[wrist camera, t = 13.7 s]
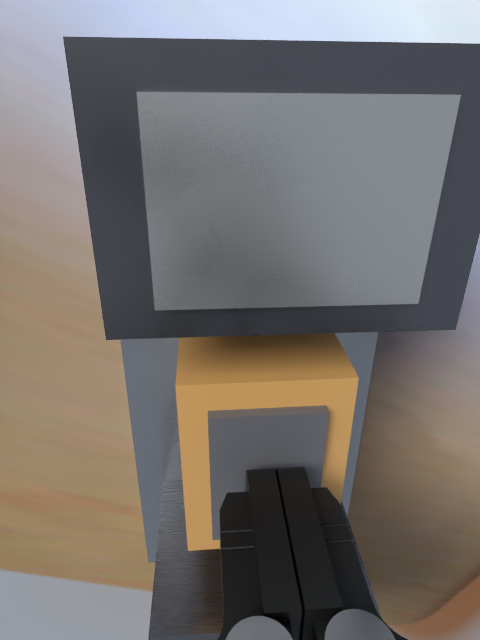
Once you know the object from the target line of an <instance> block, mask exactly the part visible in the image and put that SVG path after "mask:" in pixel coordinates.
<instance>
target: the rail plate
mask: <svg viewBox="0 0 480 640" xmlns="http://www.w3.org/2000/svg"><path fill="white" fill-rule="evenodd" d="M63 39H64V46H65V53H66V60H67V67H68V75H69V82H70V89H71V96H72V103H73V110H74V117H75V124H76V131H77V138H78V145H79V152H80V159H81V166H82V173H83V180H84V187H85V194H86V201H87V208H88V215H89V222H90V229H91V237H92V244H93V251H94V258H95V265H96V272H97V279H98V286H99V293H100V300H101V307H102V314H103V321H104V328H105V335H106V340H118V339H121V347H122V355H123V363H124V371H125V379H126V387H127V395H128V403H129V411H130V419H131V427H132V435H133V443H134V450H135V458H136V466H137V474H138V482H139V490H140V498H141V506H142V514H143V522H144V530H145V538H146V546H147V554H148V562H156V564H155V574H154V585H153V596H152V606H151V618H150V628H149V640H218V638H219V636H220V633H221V630H222V627H223V608H222V584H221V560H220V549H209V550H194V551H188V545H187V532H186V519H185V506H184V493H183V480H182V467H181V454H180V440H179V427H178V414H177V401H176V388H175V384H176V372H177V360H178V348H179V338H186V337H220V336H254V335H288V334H322V333H335V335H336V336H337V338H338V340H339V342H340V344H341V346H342V348H343V349H344V351H345V353H346V355H347V357H348V359H349V360H350V362H351V364H352V366H353V368H354V370H355V372H356V373H357V375H358V377H359V380H358V387H357V394H356V401H355V408H354V415H353V422H352V429H351V436H350V443H349V450H348V457H347V464H346V471H345V478H344V485H343V492H342V499H341V508H342V511H343V514H344V517H345V520H346V525H347V526H348V529H349V532H350V535H351V538H352V543H353V544H354V547H355V550H356V553H357V556H358V559H359V562H360V565H361V568H362V571H363V574H364V577H365V580H366V583H367V586H368V589H369V592H370V595H371V598H372V601H373V604H374V606H375V608H376V610H377V612H378V614H379V615H380V613H379V610H378V607H377V604H376V601H375V598H374V595H373V592H372V589H371V586H370V583H369V580H368V577H367V574H366V571H365V568H364V565H363V562H362V559H361V556H360V554H359V551H358V548H357V545H356V542H355V539H354V536H353V533H352V530H351V527H350V524H349V521H348V512H349V506H350V500H351V494H352V488H353V482H354V476H355V470H356V464H357V458H358V452H359V446H360V440H361V434H362V428H363V422H364V416H365V410H366V404H367V398H368V391H369V385H370V379H371V373H372V367H373V361H374V355H375V349H376V343H377V337H378V332H390V331H424V330H455V329H456V325H457V321H458V317H459V313H460V309H461V305H462V301H463V297H464V293H465V289H466V285H467V281H468V277H469V273H470V269H471V265H472V262H473V258H474V254H475V250H476V246H477V242H478V238H479V234H480V44H461V43H402V42H343V41H284V40H225V39H166V38H107V37H63ZM380 617H381V615H380Z"/></svg>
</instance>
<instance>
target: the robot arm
mask: <svg viewBox="0 0 480 640" xmlns="http://www.w3.org/2000/svg"><path fill="white" fill-rule="evenodd" d="M219 513H220V560H221V584H222V608H223V627H222V630H221V633H220V636H219V638H218V640H407V639H405V638H404V637H402V636H400V635H399V634H397V633H396V632H394V631H393V630H392V629H391V628H390V627H389V626H388V625H387V624H386V623H385V622H384V621H383V620H382V618H381V617H380V615H379V614H378V612H377V610H376V608H375V606H374V604H373V601H372V598H371V595H370V592H369V589H368V586H367V583H366V580H365V577H364V574H363V571H362V568H361V565H360V562H359V559H358V556H357V553H356V550H355V547H354V544H353V543H352V538H351V535H350V532H349V529H348V526H347V525H346V520H345V517H344V514H343V511H342V508H341V505H340V503H339V502H338V500H337V499H336V498H335V497H334V496H333V494H332V493H331V492H330V491H329V490H328V488H327V487H321V488H311V487H310V484H309V480H308V476H307V473H306V470H305V468H304V467H290V468H276V469H274V468H273V469H253V470H246V481H245V492H231V493H227V494H226V496H225V499H224V501H223V503H222V506H221V508H220V510H219Z"/></svg>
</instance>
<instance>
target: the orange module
mask: <svg viewBox="0 0 480 640" xmlns="http://www.w3.org/2000/svg"><path fill="white" fill-rule="evenodd" d="M358 380H359V377H358V375H357V373H356V372H355V370H354V368H353V366H352V364H351V362H350V360H349V359H348V357H347V355H346V353H345V351H344V349H343V348H342V346H341V344H340V342H339V340H338V338H337V336H336V335H335V333H322V334H288V335H254V336H220V337H186V338H179V348H178V360H177V372H176V384H175V388H176V401H177V414H178V427H179V440H180V454H181V467H182V480H183V493H184V506H185V519H186V532H187V545H188V551H194V550H209V549H220V513H219V510H220V508H221V506H222V503H223V501H224V499H225V496H226V494H227V493H231V492H245V481H246V470H253V469H273V468H274V469H276V468H290V467H304V468H305V470H306V473H307V476H308V480H309V484H310V487H311V488H321V487H327V488H328V490H329V491H330V492H331V493H332V494H333V496H334V497H335V498H336V499H337V500H338V502H339V503H340V505H341V499H342V492H343V485H344V478H345V471H346V464H347V457H348V450H349V443H350V436H351V429H352V422H353V415H354V408H355V401H356V394H357V387H358Z"/></svg>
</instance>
